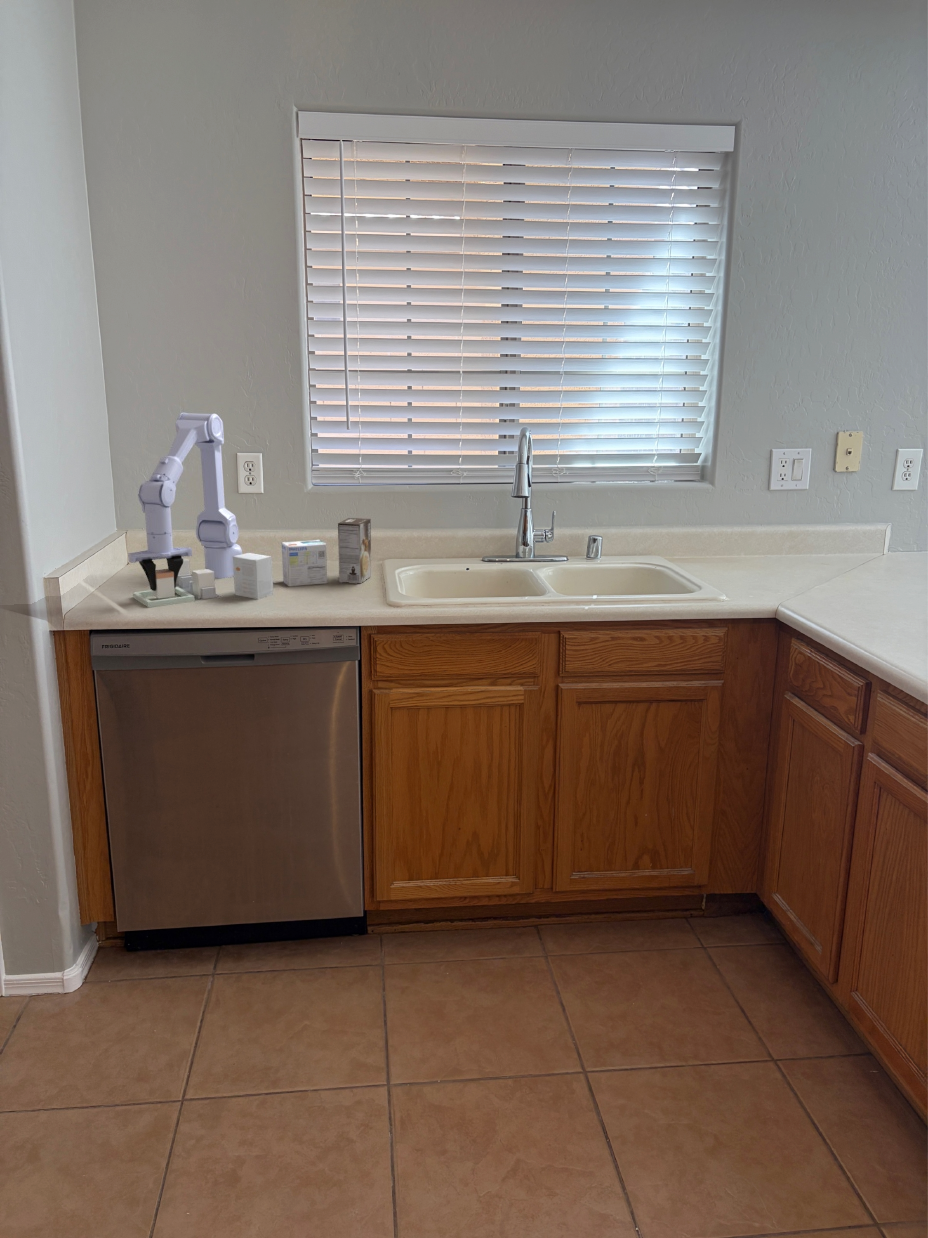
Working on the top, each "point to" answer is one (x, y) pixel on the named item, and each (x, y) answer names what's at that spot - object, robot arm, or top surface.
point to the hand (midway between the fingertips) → (163, 588)
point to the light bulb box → (304, 563)
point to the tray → (183, 599)
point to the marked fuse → (164, 584)
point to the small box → (253, 575)
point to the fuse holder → (187, 585)
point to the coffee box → (354, 550)
